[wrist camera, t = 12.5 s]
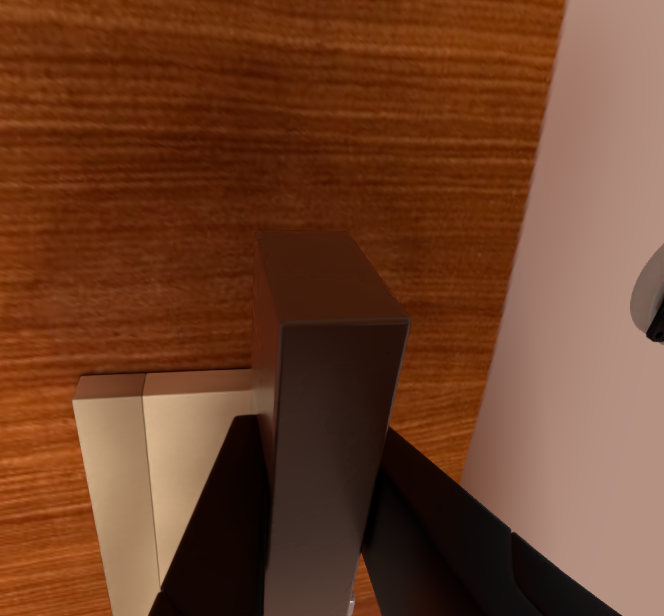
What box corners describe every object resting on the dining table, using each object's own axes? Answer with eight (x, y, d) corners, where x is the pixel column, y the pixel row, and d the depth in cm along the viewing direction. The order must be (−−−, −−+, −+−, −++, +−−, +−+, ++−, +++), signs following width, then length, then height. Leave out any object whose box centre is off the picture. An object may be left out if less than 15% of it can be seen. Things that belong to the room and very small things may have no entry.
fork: (412, 230, 8) (503, 316, 6) (328, 655, 16) (352, 775, 13) (176, 226, 7) (161, 327, 5) (204, 683, 14) (204, 819, 12)
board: (368, 362, 21) (379, 383, 20) (314, 638, 33) (318, 662, 32) (80, 375, 18) (70, 400, 17) (131, 674, 30) (128, 702, 28)
